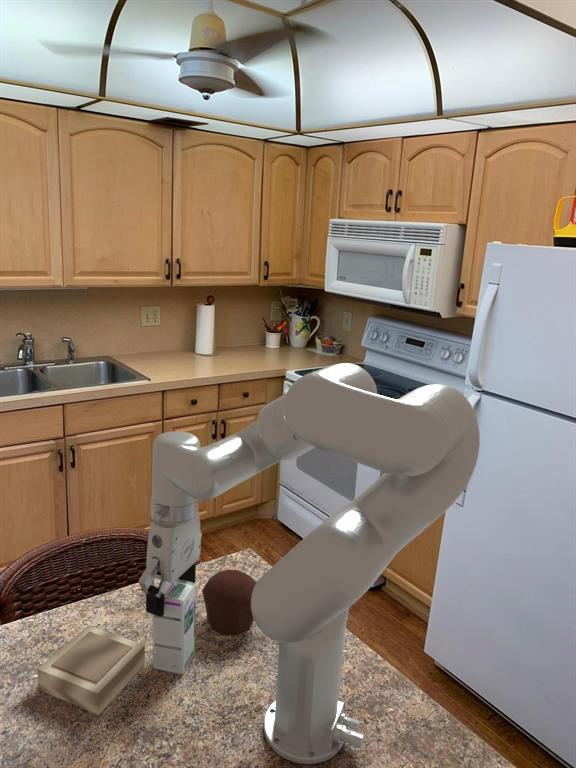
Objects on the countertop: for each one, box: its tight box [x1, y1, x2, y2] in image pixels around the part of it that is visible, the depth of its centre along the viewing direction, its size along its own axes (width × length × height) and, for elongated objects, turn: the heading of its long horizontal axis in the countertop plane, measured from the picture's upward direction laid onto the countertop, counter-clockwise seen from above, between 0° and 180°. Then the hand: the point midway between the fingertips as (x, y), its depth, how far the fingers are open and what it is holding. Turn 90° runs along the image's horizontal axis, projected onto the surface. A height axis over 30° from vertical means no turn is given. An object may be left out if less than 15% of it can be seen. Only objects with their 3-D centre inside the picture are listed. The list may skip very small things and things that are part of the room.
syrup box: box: [151, 579, 196, 675], centre depth 99 cm, size 6×6×14 cm
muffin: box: [201, 569, 257, 637], centre depth 111 cm, size 12×11×10 cm
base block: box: [37, 624, 146, 716], centre depth 96 cm, size 12×12×4 cm
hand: (171, 597), depth 99 cm, fingers open, 9 cm apart
